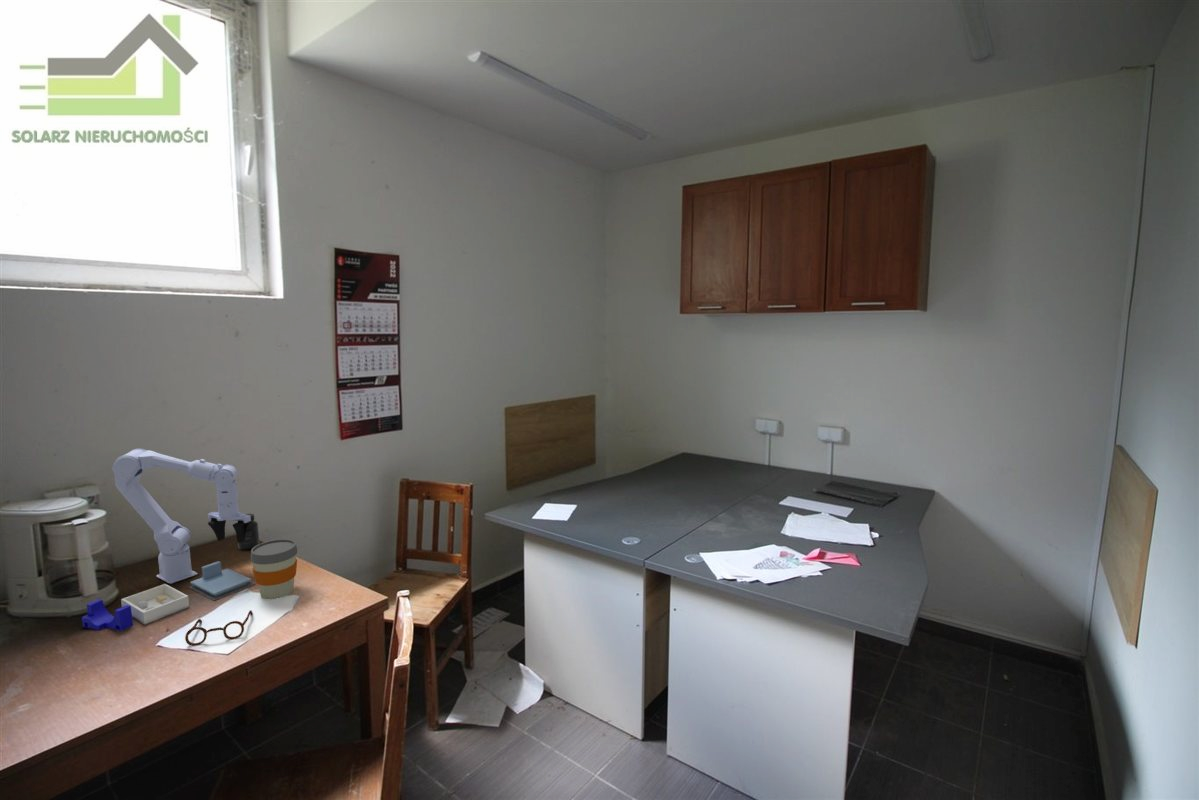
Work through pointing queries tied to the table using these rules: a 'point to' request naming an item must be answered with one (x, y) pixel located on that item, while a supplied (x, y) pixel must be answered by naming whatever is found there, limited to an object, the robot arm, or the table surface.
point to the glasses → (216, 630)
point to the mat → (221, 594)
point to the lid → (219, 579)
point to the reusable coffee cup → (274, 567)
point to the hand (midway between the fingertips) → (231, 540)
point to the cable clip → (107, 617)
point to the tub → (156, 603)
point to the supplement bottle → (250, 535)
